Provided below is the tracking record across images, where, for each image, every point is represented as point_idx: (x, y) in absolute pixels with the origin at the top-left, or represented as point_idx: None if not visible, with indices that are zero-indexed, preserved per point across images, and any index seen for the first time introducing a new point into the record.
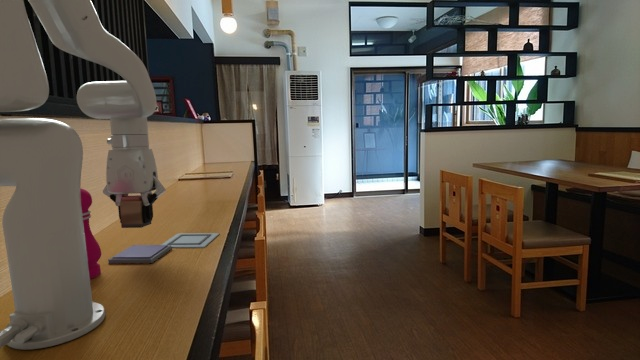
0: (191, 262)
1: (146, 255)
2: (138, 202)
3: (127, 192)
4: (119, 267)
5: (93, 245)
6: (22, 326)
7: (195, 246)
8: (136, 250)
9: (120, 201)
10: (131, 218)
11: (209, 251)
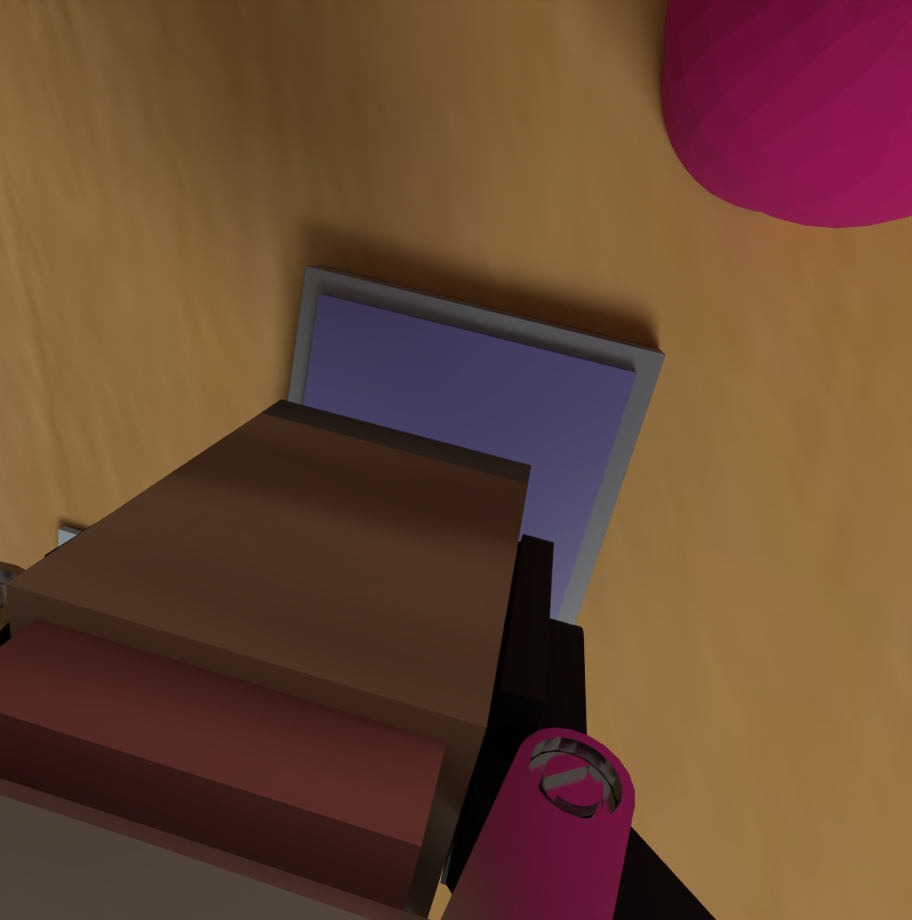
0: (44, 223)
1: (360, 345)
2: (53, 573)
3: (59, 807)
4: (546, 235)
5: None
6: None
7: None
8: None
9: (504, 797)
10: (357, 477)
11: (5, 437)
